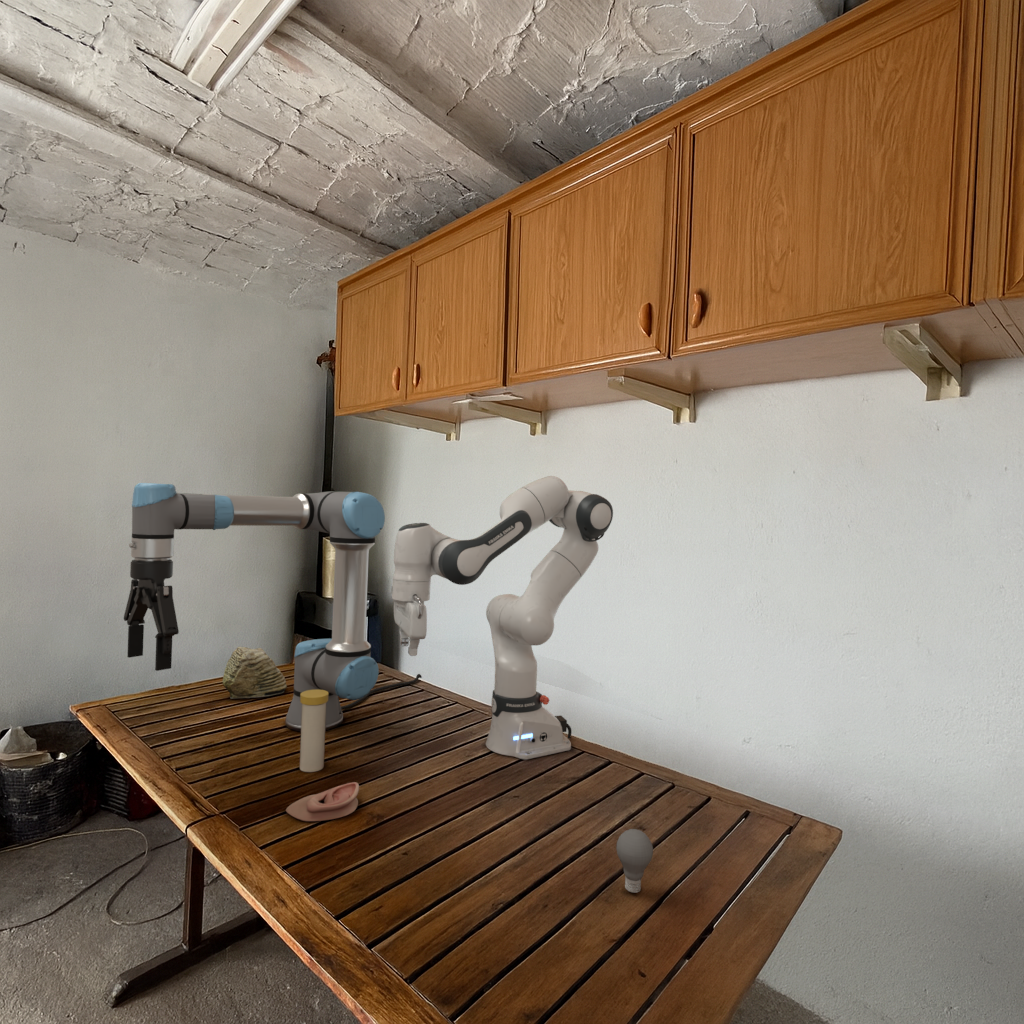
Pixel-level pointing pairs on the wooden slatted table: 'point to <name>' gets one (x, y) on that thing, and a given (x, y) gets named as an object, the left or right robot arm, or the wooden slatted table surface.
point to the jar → (312, 737)
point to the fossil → (252, 674)
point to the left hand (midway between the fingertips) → (148, 662)
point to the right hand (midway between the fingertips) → (408, 650)
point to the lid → (314, 697)
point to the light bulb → (634, 857)
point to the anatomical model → (326, 804)
